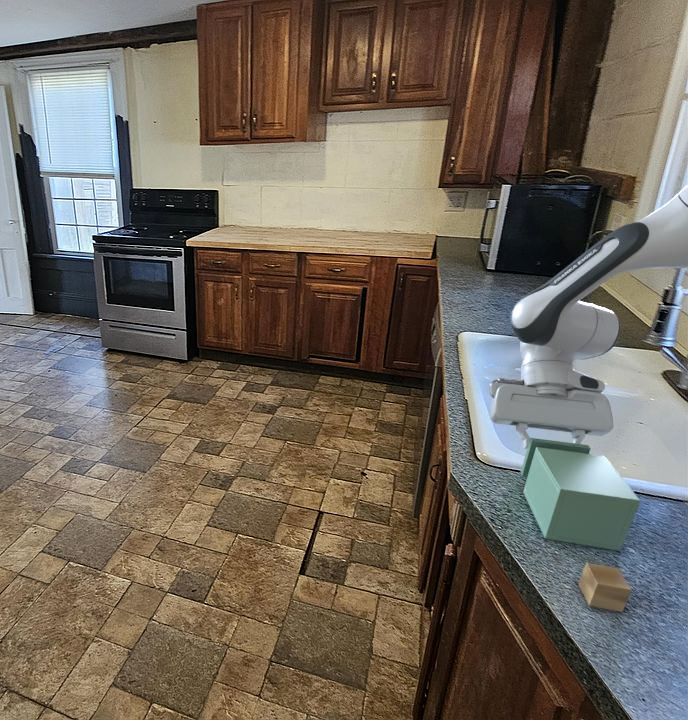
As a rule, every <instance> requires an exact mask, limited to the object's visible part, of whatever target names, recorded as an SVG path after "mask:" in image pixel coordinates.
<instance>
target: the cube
mask: <svg viewBox="0 0 688 720" xmlns="http://www.w3.org/2000/svg"><path fill="white" fill-rule="evenodd" d="M578 586H579V589H580V590H581V593H582V594H583V597H584V598H585V600H586V603H587V605H588V606H589V607H594V608H599V609H603V610H607V611H614V612H619V613H623V612H624V609H625V607H626V604H627V602H628V599H629V598H630V595H631V593H632V588H631V587H630V585H629V582H628V581H627V580H626V578H625V577H624V575H623V573H622V572H621V570H620V568H618V567H613V566H607V565H601V564H595V563H589V562H586V563H585V565H584V567H583V570H582V573H581V576H580V579H579V582H578Z"/></svg>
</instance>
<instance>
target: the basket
mask: <svg viewBox="0 0 688 720" xmlns="http://www.w3.org/2000/svg"><path fill="white" fill-rule="evenodd" d="M536 447H540V448H547V449H555V450H563V451H570V452H578V453H586V454H590V452H591V450H592V449H591V447H590V445H588V444H582V443H580V444H575V443H573V442H567V441H559V440H551V439H545V438H544V439H542V438H536V437H530V441H529V444H528V448H527V449H526V451H525V455H524V459H523V462H522V467H521V469H520V476H521V477H522V478H527V477H528V474H529V470H530V467H531V463H532V460H533V456H534V453H535V449H536Z"/></svg>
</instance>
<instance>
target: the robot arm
mask: <svg viewBox="0 0 688 720" xmlns="http://www.w3.org/2000/svg"><path fill="white" fill-rule="evenodd" d="M648 269H649V270H650V269H651V270H652V269H688V184H687V185H685V187H684V188H682V189H681V190H680V191H679V192H678V193H677V194H676V195H675V196H674V197H673V198H671V199H670V200H669V201H668V202H666V203H665V204H664V205H662V206H661V207H659V208H658V209H656V210H655V211H653V212H651V213H649V214H648V215H646V216H644V217H643V218H640V219H639V220H636V221H634V222H631V223H628V224H624V225H622V226H619V227H618V228H616V229H614V230H613V231H611V232H610V233H608V234H606V236H604V237H603V238H601V239H600V240H598V241H597V242H596V243H595V244H593V246H591V247H590V248H589V249H587V250H586V251H585V252H583V253H582V254H581V255H580V256H578V257H577V258H576V259H574V260H573V261H572V262H571V263H570V264H568V265H567V266H566V267H565V268H564V269H562V270H561V271H559V272H558V273H557V274H555V275H554V276H552V278H551V279H549V280H547V282H545V283H544V284H542V285H541V286H538V287H537V288H534V289H533V290H531V291H529V292H528V293H526V294H525V295H523V296H522V297H521V298H520V299H518V301H517V302H516V303H515V304H514V306H513V308H512V310H511V313H510V325H511V328H512V331H513V333H514V335H515V337H516V338H517V339H518V340H519V350H520V354H521V357H522V363H521V366H520V379H511V378H510V379H509V378H505V377H504V378H503V377H499V378H497V379H494V380H492V381H491V382H490V384H489V395H490V396H491V403H490V409H489V419H490V420H491V421H492V422H493V423H494V424H496V425H497V424H498V425H503V426H514V427H515V431H516V433H517V435H518V436H519V438H520V439H521V440H522V449H523V450H527V448H528V444H529V441H530V438H531V437H530V436H529V434H528V432H527V430H528V428H530V429H538V430H545V431H553V432H554V431H555V432H562V433H570V435H571V438H572V439H573V441H572V443H575V444H582V441H583V440H584V439H585V437H586V436H594V437H603V436H605V435H608V434H609V433H610V432H612V430H613V429H614V417H613V411H612V406H611V403H610V400H609V398H608V397H607V396H606V395H605V394H603V392H604V391H605V389H606V386H605V385H606V384H605V382H604V381H603V380H600V379H599V378H595V377H592V376H589V375H587V374H584V373H582V372H579V371H578V370H575V369H574V362H575V361H578V360H580V361H581V360H588V359H592V358H596V357H600V356H603V355H605V354H606V353H608V352H609V351H611V350H612V349H613V348H614V347H615V346H616V344H617V343H618V341H619V338H620V335H621V328H622V327H621V320H620V319H619V316H618V315H617V313H616V312H614V311H613V310H611V309H608V308H606V307H603V306H599V305H596V304H594V303H591V304H589V303H590V302H587V303H584V302H585V301H581V300H583V299H584V298H585V297H587V296H588V295H589V294H591V293H592V292H594V291H595V290H596V289H598V288H600V286H601V285H603V284H605V283H606V282H607V281H608V280H610V279H612V278H614V277H616V276H618V275H621V274H625V273H629V272H632V271H639V270H648ZM593 304H594V305H593Z"/></svg>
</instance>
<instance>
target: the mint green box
mask: <svg viewBox="0 0 688 720" xmlns="http://www.w3.org/2000/svg"><path fill="white" fill-rule="evenodd" d="M522 491H523V492H522V494H523V495H524V497H525V499H526V502H527V503H528V506H529V508H530V510H531V512H532V514H533V516H534V518H535V520H536V522H537V525H538V527H539V529H540V531H541V533H542V535H543V537H544V539H546V540H552V541H557V542H562V543H563V542H564V543H570V544H576V545H582V546H588V547H592V548H593V547H594V548H600V549H605V550H611V551H619V552H621V551H622V548H623V546H624V544H625V541H626V538H627V536H628V533H629V531H630V529H631V525H632V523H633V520H634V518H635V516H636V513H637V512H638V511H637V510H638V508H639V505H640V503H641V499H640V498H639V497H638V495H637V494H636V493H635V492H634V491H633V489H632V488H631V486H630V485H629V484H628V482H626V481H625V479H624V478H623V477H622V476H621V474H620V473H619V472H618V470H617V468H615V466H614V465H613V464H612V463H611V462H610V460H609V459H608V458H607V456H605V455H600V454H593V453H589V454H586V453H578V452H570V451H563V450H555V449H547V448H540V447H536V449H535V453H534V456H533V460H532V463H531V467H530V470H529V474H528V477H526V481H525V485H524V487H523V490H522Z"/></svg>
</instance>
